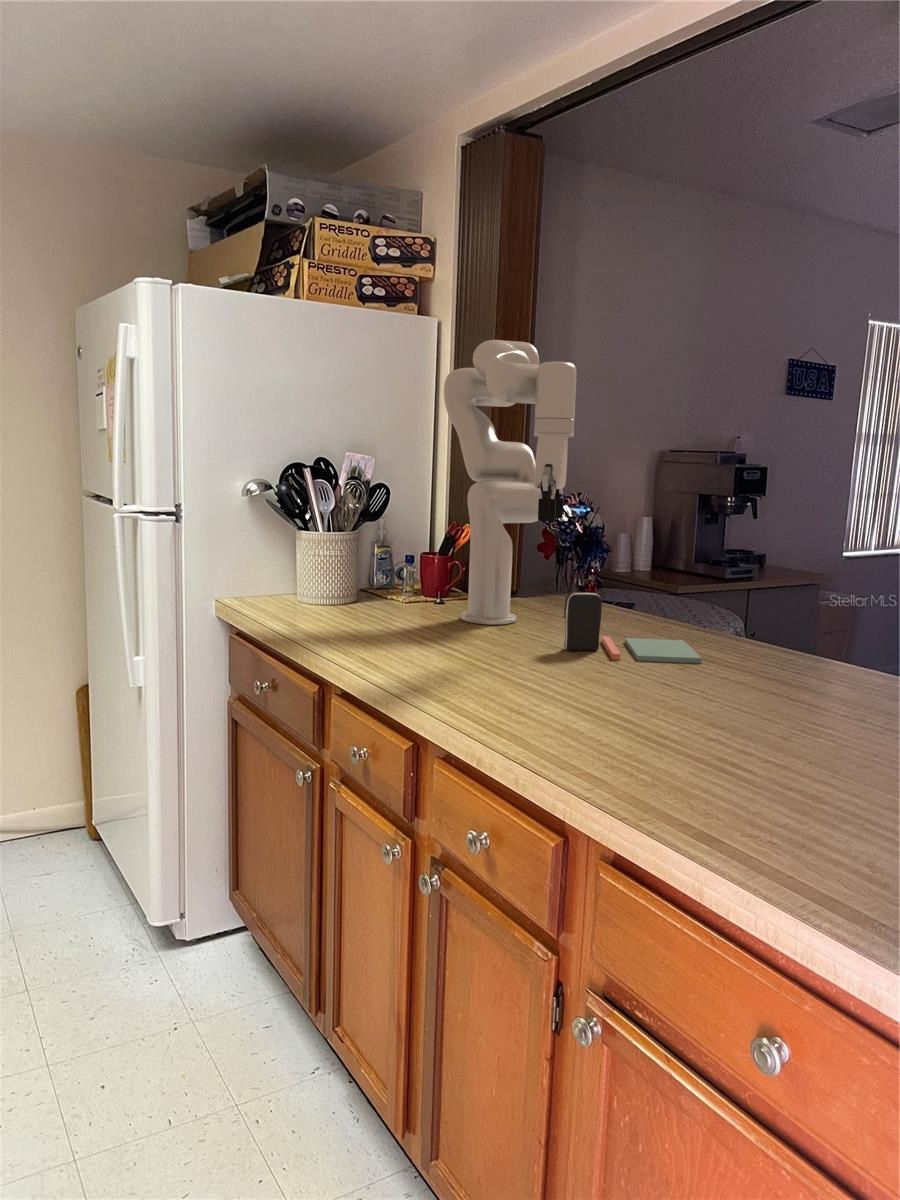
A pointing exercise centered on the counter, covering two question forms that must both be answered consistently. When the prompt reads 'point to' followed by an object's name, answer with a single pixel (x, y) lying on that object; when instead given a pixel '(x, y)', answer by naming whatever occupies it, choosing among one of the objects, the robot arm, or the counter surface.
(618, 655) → the bar
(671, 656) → the mat
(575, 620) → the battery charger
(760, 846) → the counter surface
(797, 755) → the counter surface
